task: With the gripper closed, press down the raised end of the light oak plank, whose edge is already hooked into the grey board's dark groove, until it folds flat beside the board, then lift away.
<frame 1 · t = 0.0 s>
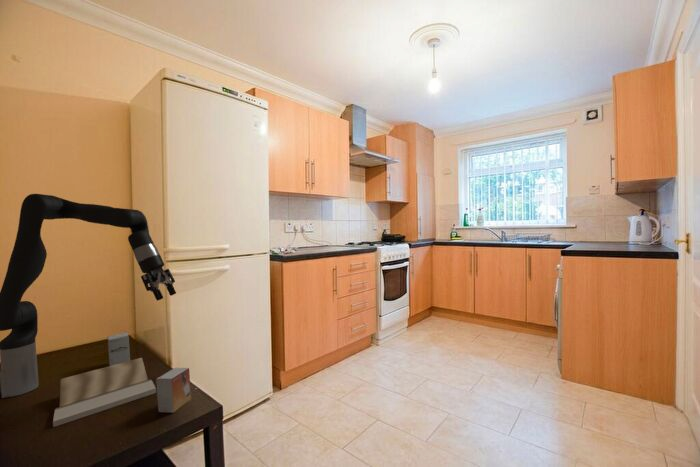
hand: (167, 297, 117), 31 cm above the table, tool tilted 20°, fingers open, 8 cm apart
supplement box: (120, 364, 137), on the table
grey board: (108, 402, 104), on the table
small box: (175, 406, 99), on the table
oak plank: (105, 381, 113), point 3 cm above the table, hinge at 20.0°
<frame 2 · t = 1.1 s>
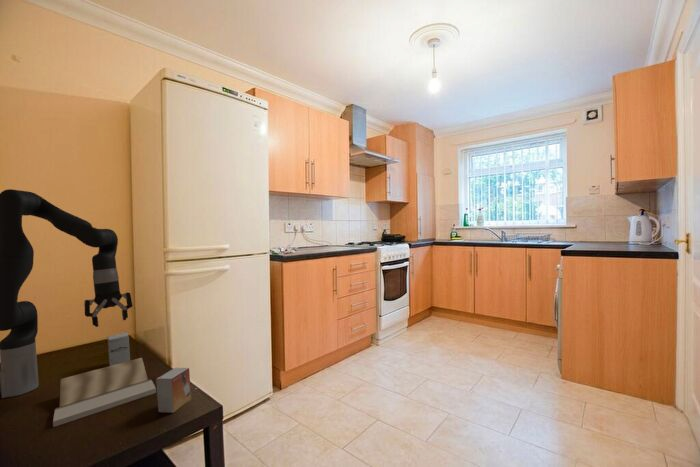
hand: (111, 323, 119), 23 cm above the table, tool pointing down, fingers open, 8 cm apart
nothing on the table moved.
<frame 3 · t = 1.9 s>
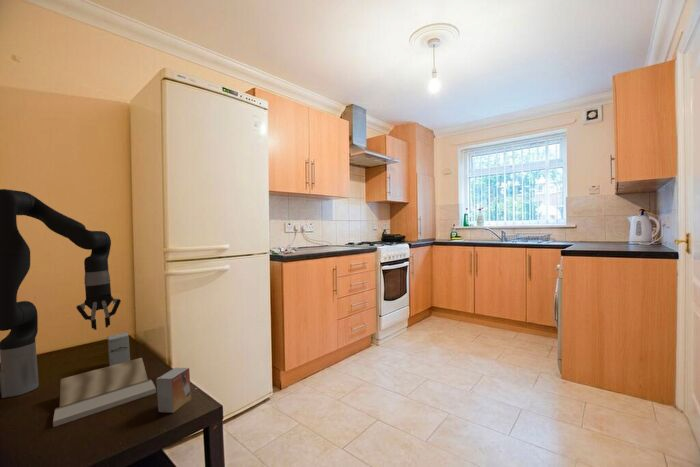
hand: (101, 328, 119), 21 cm above the table, tool pointing down, fingers open, 3 cm apart
nothing on the table moved.
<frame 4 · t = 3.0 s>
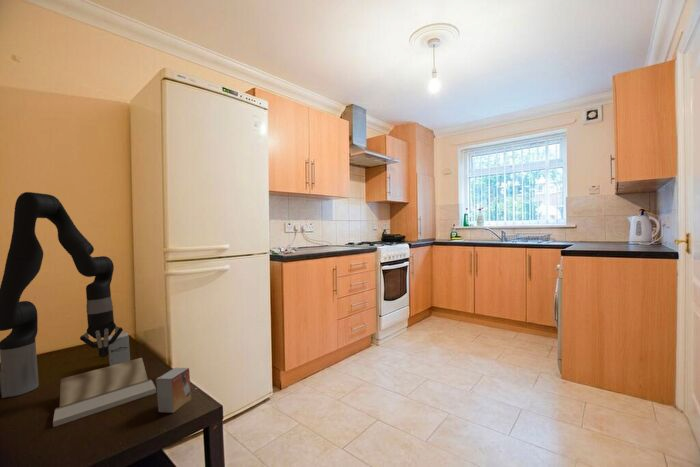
hand: (104, 356, 115), 11 cm above the table, tool pointing down, fingers closed
nothing on the table moved.
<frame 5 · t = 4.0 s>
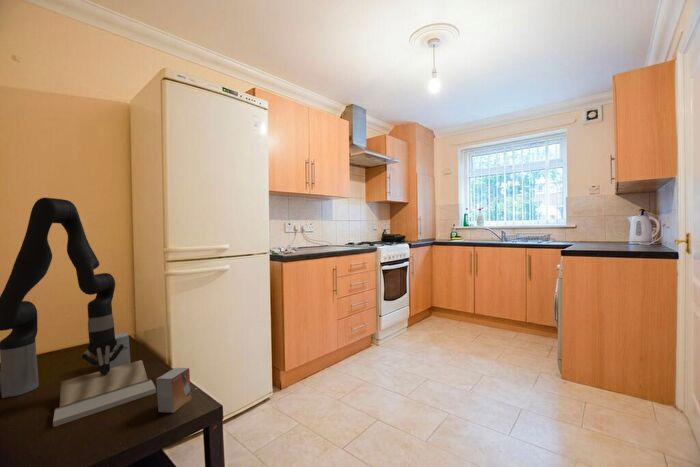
hand: (105, 373, 116), 5 cm above the table, tool pointing down, fingers closed
oak plank: (105, 382, 113), point 3 cm above the table, hinge at 15.2°, touching gripper
everything else where it was.
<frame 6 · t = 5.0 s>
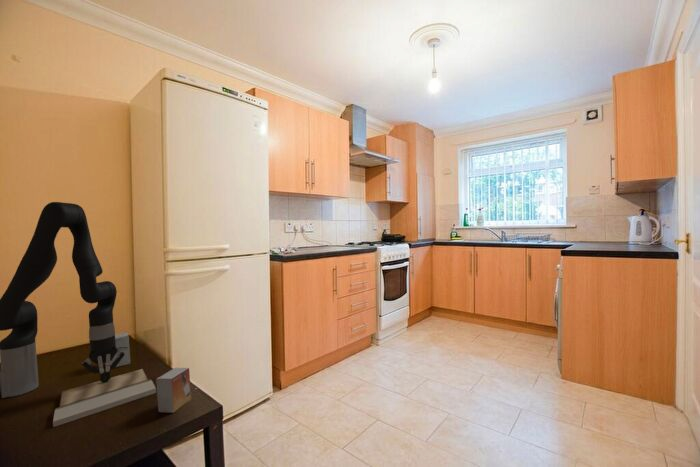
hand: (105, 381, 116), 2 cm above the table, tool pointing down, fingers closed
oak plank: (105, 387, 113), point 1 cm above the table, hinge at -0.3°, touching gripper
everything else where it was.
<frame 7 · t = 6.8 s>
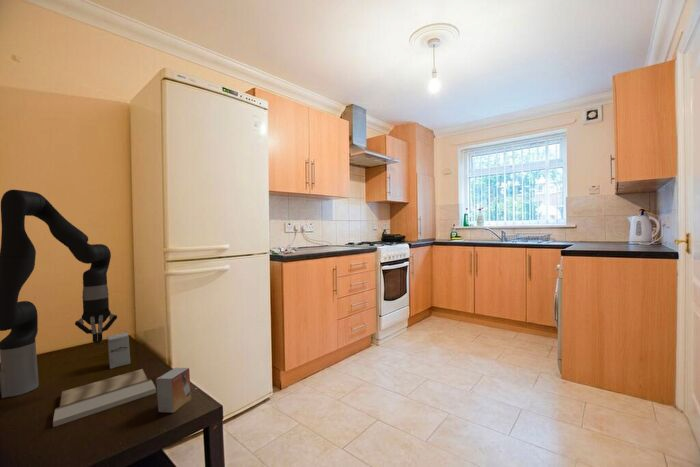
hand: (97, 342, 117), 16 cm above the table, tool pointing down, fingers closed
oak plank: (105, 387, 113), point 1 cm above the table, hinge at -0.3°
everything else where it was.
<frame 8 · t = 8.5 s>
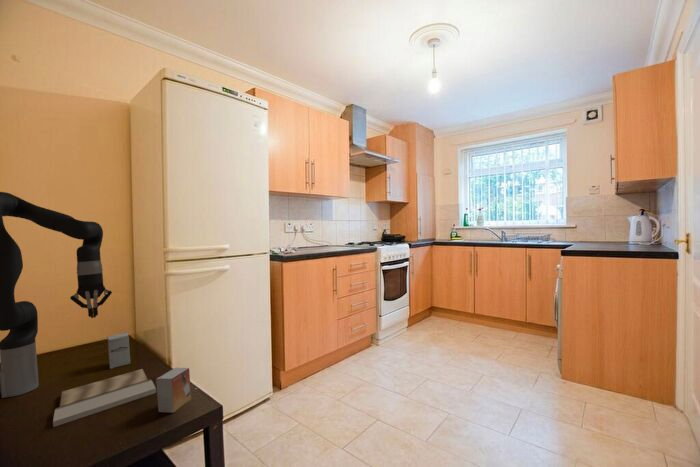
hand: (93, 317, 120), 25 cm above the table, tool pointing down, fingers closed
nothing on the table moved.
at the end: oak plank at +0° (first picture: +20°); small box moved 0.3 cm from its start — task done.
